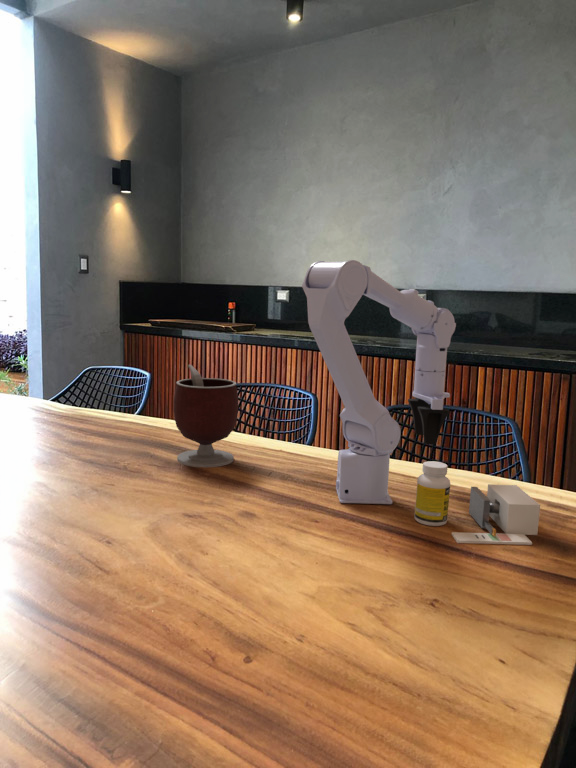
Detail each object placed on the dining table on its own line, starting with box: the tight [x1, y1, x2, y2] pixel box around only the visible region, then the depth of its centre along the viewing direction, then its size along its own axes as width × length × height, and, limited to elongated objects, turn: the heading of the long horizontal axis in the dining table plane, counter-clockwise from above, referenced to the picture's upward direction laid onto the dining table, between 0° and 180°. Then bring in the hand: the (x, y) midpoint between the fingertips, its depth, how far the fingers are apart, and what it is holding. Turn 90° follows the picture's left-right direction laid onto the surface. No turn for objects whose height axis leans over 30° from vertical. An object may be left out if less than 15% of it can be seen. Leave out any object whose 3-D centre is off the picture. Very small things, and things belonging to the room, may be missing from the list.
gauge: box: [451, 484, 541, 546], centre depth 101 cm, size 14×14×5 cm
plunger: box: [468, 486, 500, 536], centre depth 101 cm, size 8×11×5 cm
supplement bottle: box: [413, 460, 451, 527], centre depth 103 cm, size 5×5×10 cm
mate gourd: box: [173, 364, 239, 468], centre depth 135 cm, size 16×14×20 cm
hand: (425, 439), depth 121 cm, fingers open, 7 cm apart
